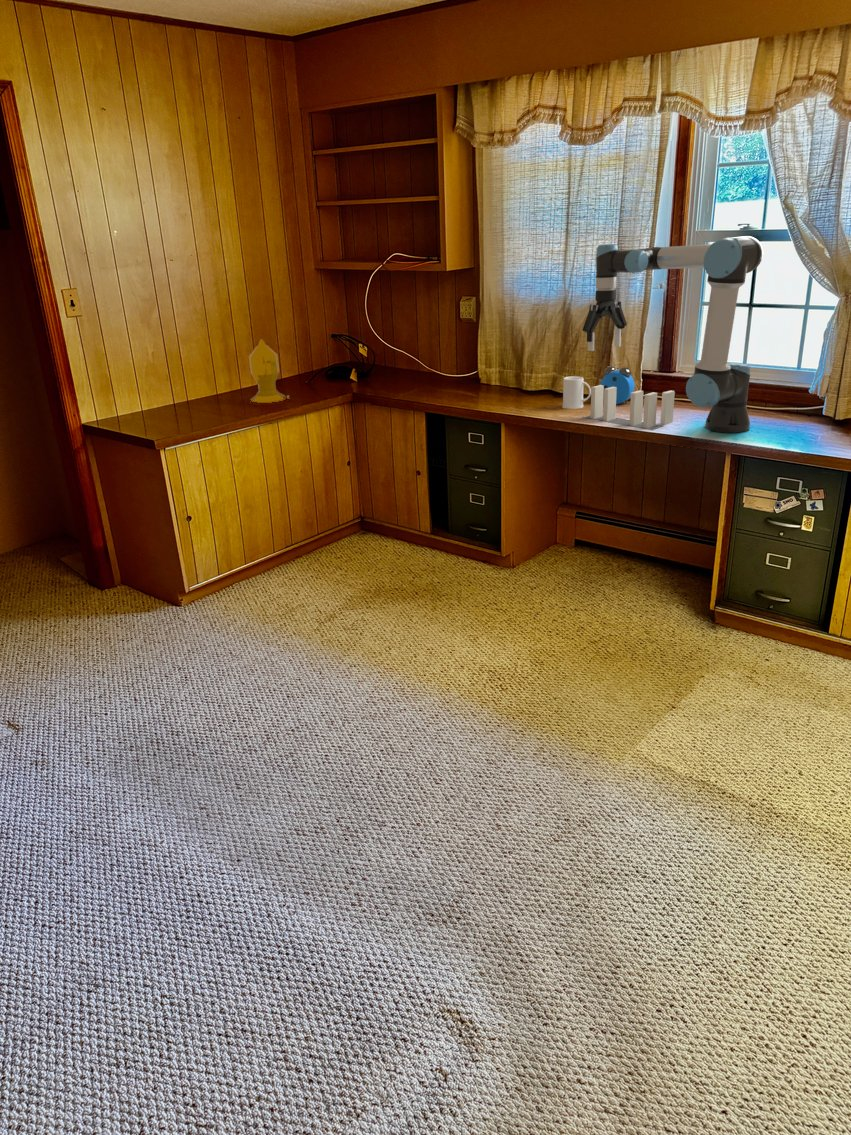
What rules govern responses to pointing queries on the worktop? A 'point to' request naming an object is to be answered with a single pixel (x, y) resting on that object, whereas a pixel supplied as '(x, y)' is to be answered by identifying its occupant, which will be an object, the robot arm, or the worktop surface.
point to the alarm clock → (619, 382)
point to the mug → (574, 392)
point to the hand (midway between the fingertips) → (604, 348)
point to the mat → (624, 422)
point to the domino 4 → (650, 410)
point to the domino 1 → (597, 401)
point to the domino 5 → (667, 407)
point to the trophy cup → (265, 374)
